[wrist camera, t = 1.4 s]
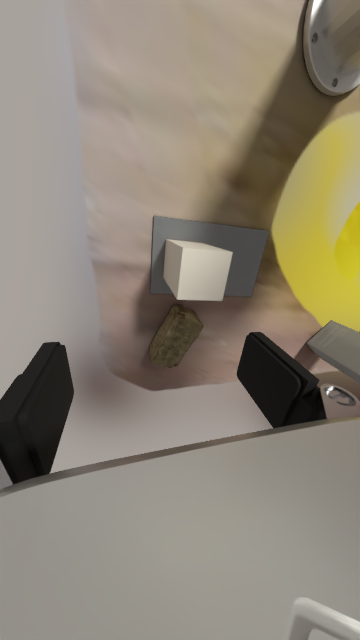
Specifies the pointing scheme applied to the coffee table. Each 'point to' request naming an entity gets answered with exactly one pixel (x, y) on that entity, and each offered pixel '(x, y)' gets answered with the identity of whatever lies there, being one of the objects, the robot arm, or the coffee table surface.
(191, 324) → the stone block
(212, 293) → the cream rectangular block
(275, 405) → the robot arm
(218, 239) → the rubber mat
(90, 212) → the coffee table surface
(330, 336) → the skincare box
